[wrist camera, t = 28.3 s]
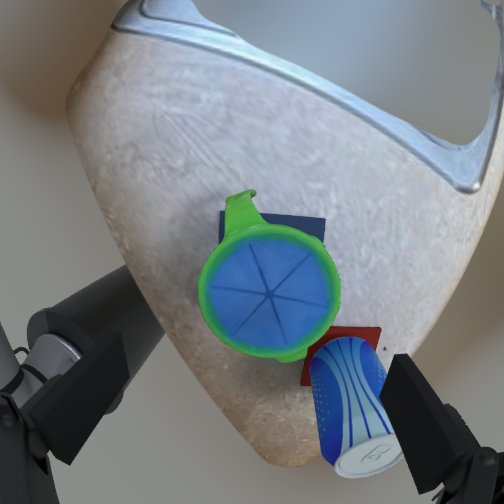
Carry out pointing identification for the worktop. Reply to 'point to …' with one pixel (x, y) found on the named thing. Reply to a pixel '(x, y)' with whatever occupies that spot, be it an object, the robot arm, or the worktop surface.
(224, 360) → the worktop surface
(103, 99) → the worktop surface
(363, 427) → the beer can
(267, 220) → the blue mat
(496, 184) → the worktop surface
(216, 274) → the snack cup
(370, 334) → the red mat
